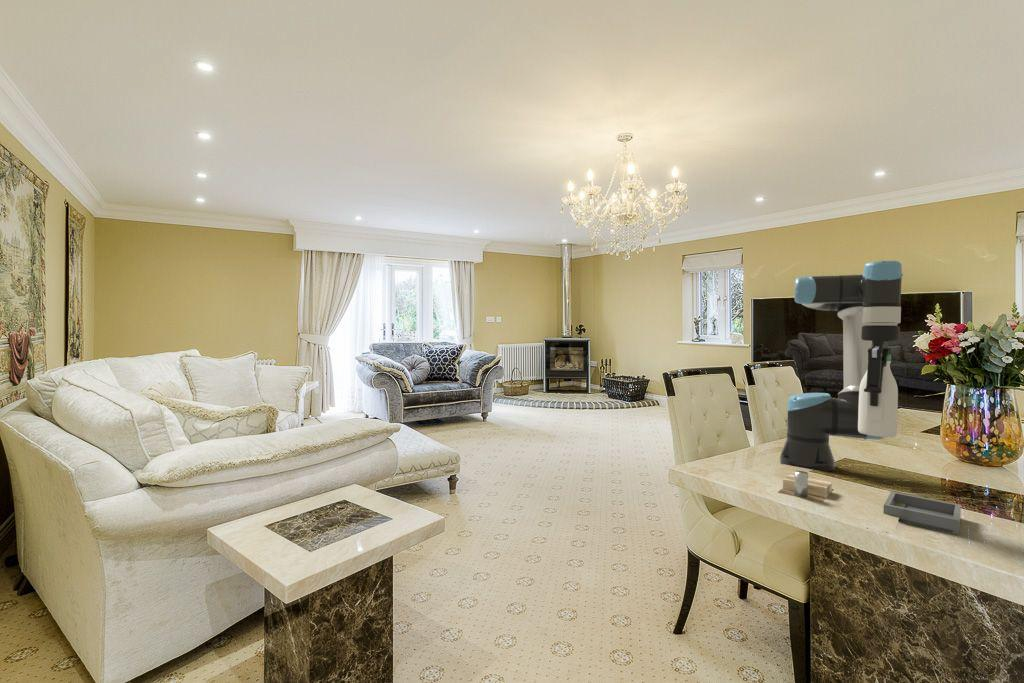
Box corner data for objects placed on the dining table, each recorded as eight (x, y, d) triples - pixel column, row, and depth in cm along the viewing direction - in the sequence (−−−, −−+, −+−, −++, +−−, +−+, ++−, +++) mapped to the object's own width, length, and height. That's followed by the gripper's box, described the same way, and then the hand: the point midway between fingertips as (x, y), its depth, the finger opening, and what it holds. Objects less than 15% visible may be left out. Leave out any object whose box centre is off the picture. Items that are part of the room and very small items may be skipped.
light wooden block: (789, 483, 135) (789, 474, 135) (831, 492, 128) (831, 482, 128) (782, 488, 131) (783, 479, 131) (826, 497, 124) (826, 488, 124)
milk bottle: (903, 438, 115) (906, 354, 115) (866, 436, 117) (869, 353, 116) (886, 432, 123) (889, 353, 122) (852, 430, 124) (854, 352, 124)
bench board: (791, 484, 137) (792, 480, 137) (833, 493, 130) (833, 489, 130) (777, 496, 128) (777, 492, 128) (821, 506, 121) (821, 502, 121)
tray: (890, 503, 123) (891, 491, 123) (960, 518, 114) (960, 504, 114) (883, 518, 114) (883, 504, 114) (958, 535, 105) (959, 520, 105)
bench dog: (795, 492, 127) (796, 470, 127) (808, 495, 125) (809, 472, 125) (792, 495, 125) (793, 472, 125) (805, 498, 123) (806, 475, 123)
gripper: (870, 325, 129) (867, 411, 129) (852, 324, 115) (849, 420, 115) (906, 325, 123) (903, 415, 124) (892, 324, 109) (889, 425, 110)
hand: (877, 417), depth 120 cm, fingers closed on milk bottle, 7 cm apart
